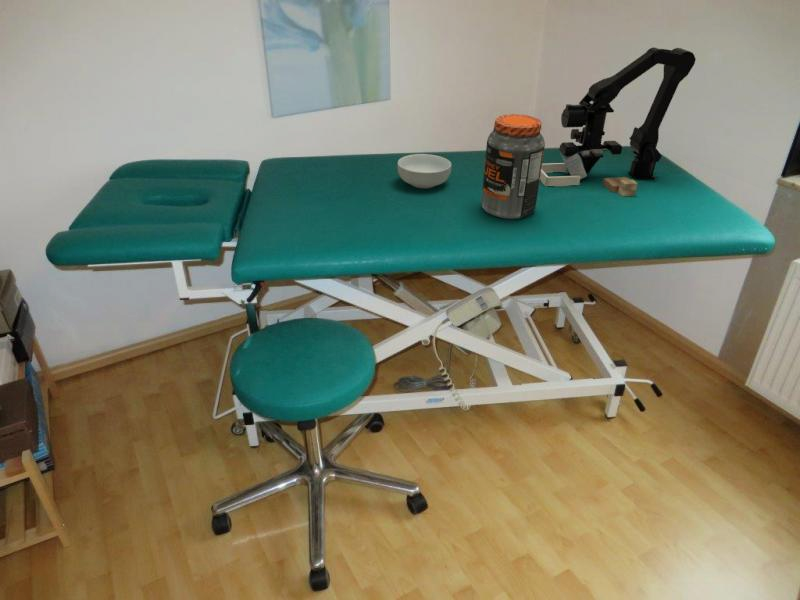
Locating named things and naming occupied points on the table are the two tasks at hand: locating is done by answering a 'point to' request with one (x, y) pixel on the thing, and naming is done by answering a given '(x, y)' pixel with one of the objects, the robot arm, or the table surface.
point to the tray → (559, 179)
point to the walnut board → (613, 183)
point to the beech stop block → (627, 188)
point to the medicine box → (574, 165)
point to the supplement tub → (513, 166)
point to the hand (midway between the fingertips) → (586, 174)
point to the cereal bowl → (424, 170)
